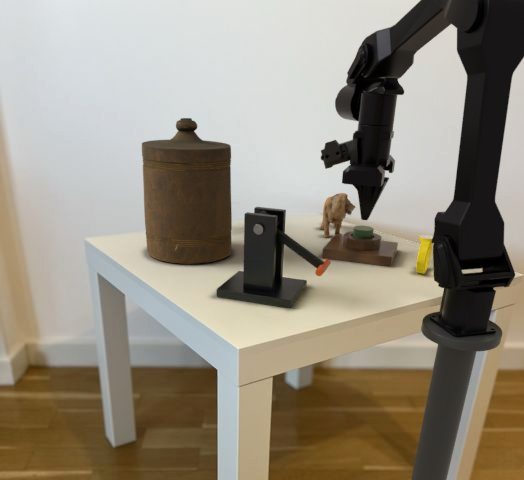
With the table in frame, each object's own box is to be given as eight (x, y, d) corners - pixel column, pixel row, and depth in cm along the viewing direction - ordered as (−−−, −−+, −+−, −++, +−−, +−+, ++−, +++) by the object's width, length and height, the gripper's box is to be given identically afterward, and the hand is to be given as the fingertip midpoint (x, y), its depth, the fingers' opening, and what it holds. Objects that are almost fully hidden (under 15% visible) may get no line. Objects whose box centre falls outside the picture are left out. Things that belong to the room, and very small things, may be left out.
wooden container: (207, 237, 107) (206, 114, 97) (246, 257, 95) (249, 121, 86) (134, 246, 99) (124, 115, 89) (167, 269, 88) (160, 122, 78)
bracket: (306, 287, 83) (312, 209, 78) (290, 308, 75) (295, 223, 70) (238, 277, 86) (239, 201, 81) (216, 296, 78) (216, 214, 73)
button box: (396, 251, 102) (399, 232, 101) (390, 266, 94) (393, 246, 92) (333, 243, 105) (335, 225, 104) (322, 257, 97) (323, 238, 95)
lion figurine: (353, 242, 107) (358, 195, 103) (326, 242, 106) (331, 195, 102) (334, 223, 120) (338, 181, 116) (310, 223, 119) (313, 181, 115)
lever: (325, 270, 79) (334, 257, 77) (317, 281, 74) (327, 268, 73) (258, 221, 79) (267, 208, 78) (246, 229, 75) (255, 215, 73)
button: (373, 236, 99) (375, 226, 98) (370, 241, 96) (372, 231, 95) (354, 234, 100) (355, 224, 99) (350, 238, 97) (351, 229, 96)
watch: (427, 278, 89) (433, 242, 86) (409, 275, 90) (415, 239, 87) (432, 267, 94) (438, 233, 91) (416, 265, 95) (421, 231, 92)
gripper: (338, 118, 100) (331, 205, 107) (314, 125, 84) (307, 226, 91) (400, 122, 97) (388, 211, 104) (387, 129, 81) (374, 234, 88)
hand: (364, 219), depth 97 cm, fingers closed
